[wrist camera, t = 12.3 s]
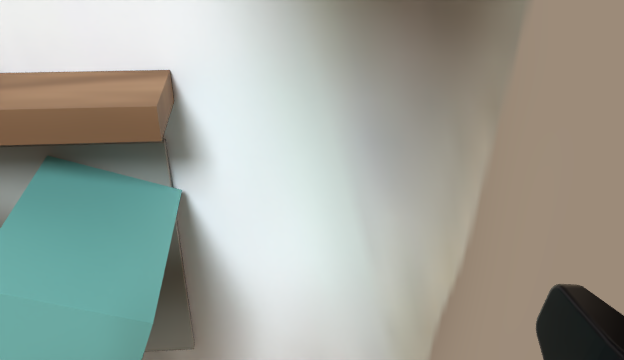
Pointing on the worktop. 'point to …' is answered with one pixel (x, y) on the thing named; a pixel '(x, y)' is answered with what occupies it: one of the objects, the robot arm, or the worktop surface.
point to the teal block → (83, 264)
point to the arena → (96, 153)
